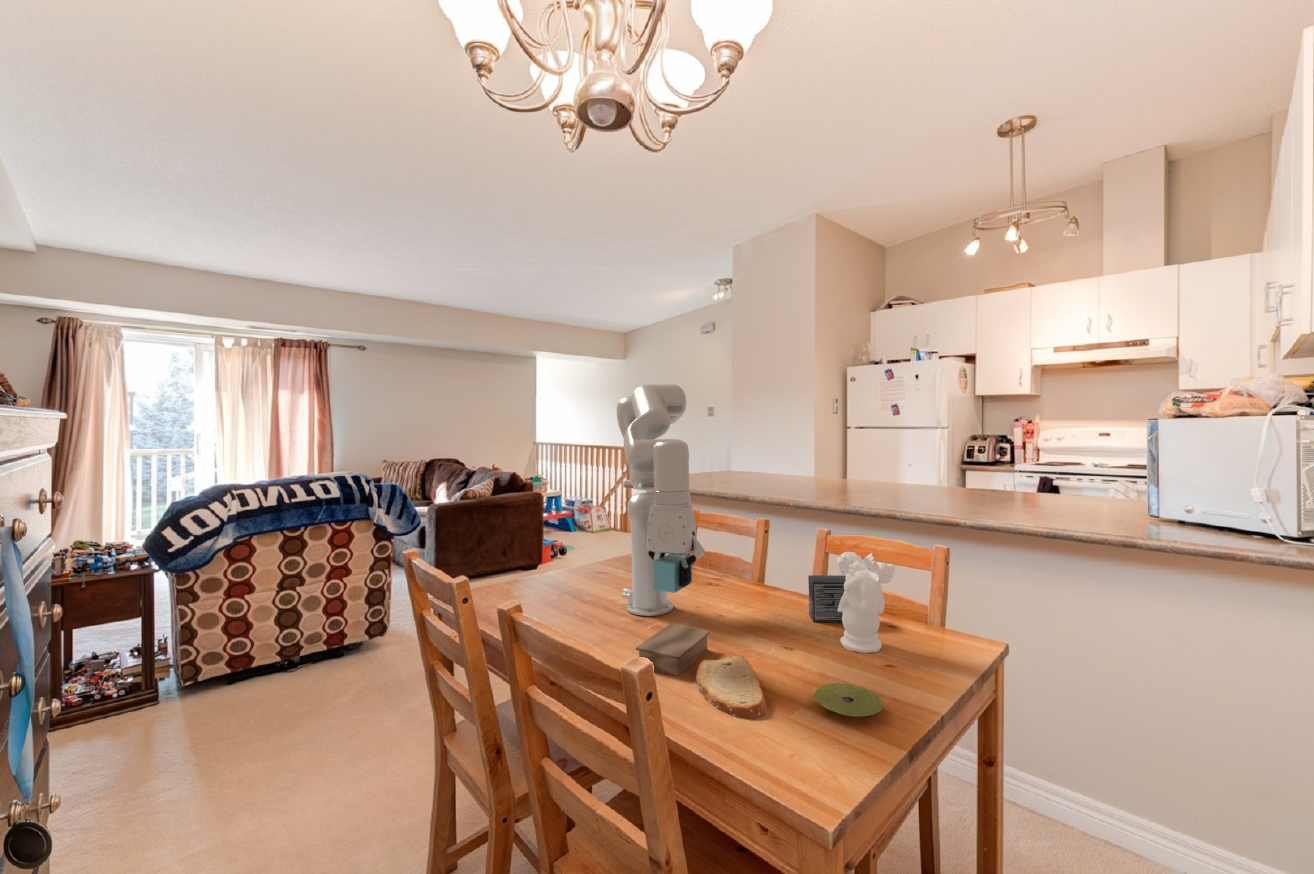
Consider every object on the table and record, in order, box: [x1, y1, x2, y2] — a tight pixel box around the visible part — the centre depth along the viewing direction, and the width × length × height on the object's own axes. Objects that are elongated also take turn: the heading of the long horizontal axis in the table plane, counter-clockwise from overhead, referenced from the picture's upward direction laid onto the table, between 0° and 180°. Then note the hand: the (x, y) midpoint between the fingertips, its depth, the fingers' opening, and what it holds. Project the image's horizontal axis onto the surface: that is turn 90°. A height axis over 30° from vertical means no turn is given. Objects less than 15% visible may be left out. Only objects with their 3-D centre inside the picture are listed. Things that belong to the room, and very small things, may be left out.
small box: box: [807, 574, 846, 624], centre depth 137 cm, size 11×6×10 cm, turn 84°
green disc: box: [814, 682, 884, 718], centre depth 93 cm, size 11×11×2 cm
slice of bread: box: [695, 655, 768, 720], centre depth 102 cm, size 18×18×4 cm
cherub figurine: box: [836, 551, 896, 654], centre depth 120 cm, size 12×12×22 cm
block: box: [653, 553, 693, 593], centre depth 115 cm, size 5×8×6 cm, turn 150°
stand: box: [635, 623, 711, 676], centre depth 115 cm, size 10×15×4 cm, turn 150°
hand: (673, 582), depth 115 cm, fingers closed on block, 5 cm apart
